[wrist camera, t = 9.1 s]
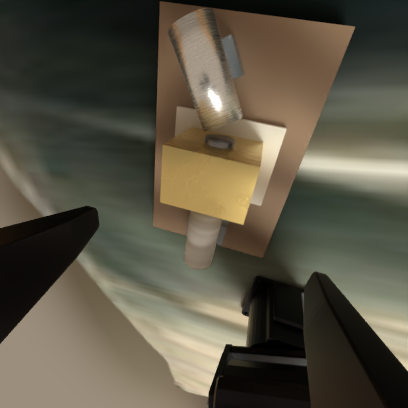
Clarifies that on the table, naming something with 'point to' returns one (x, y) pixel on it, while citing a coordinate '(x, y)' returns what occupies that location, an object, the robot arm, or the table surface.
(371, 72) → the table surface
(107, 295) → the table surface
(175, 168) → the yellow knobbed block
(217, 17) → the base plate
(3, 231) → the robot arm
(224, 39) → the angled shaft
